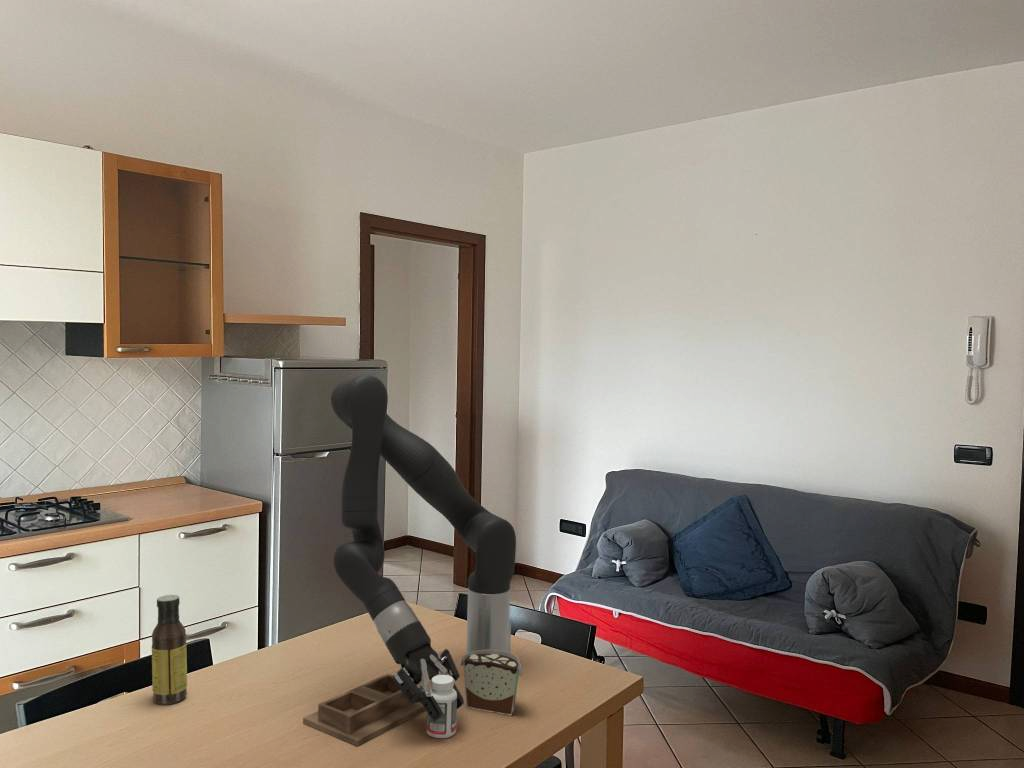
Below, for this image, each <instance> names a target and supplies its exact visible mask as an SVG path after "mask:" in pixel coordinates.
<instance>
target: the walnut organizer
mask: <svg viewBox="0 0 1024 768" xmlns="http://www.w3.org/2000/svg"><path fill="white" fill-rule="evenodd" d="M393 676H394V675H393V674H391V673H390V674H389V673H386V674H384V675H382V676H380V677H377V678H375V679H372V680H370V681H367V682H365V683H364V684H361V685H359V686H357V687H355V688H352V689H349V690H348V691H346V692H343V693H340V694H339V695H336V696H333V697H332V698H330V699H327V700H326V701H323V702H320V703H318V704H317V705H318V709H317V710H318V711H315V712H313V713H311V714H309V715H306V716H304V717H302V724H304V725H306V726H308V727H310V728H313V729H315V730H318V731H320V732H322V733H324V734H326V735H330V736H332V737H334V738H336V739H339V740H341V741H344V742H346V743H348V744H350V745H354V747H355V746H356V747H359V746H361V745H363V744H365V743H367V742H368V741H370V740H372V739H374V738H376V737H378V736H380V735H382V734H384V733H385V732H387V731H389V730H391V729H393V728H395V727H397V726H398V725H401V724H402V723H405V722H407V721H408V720H410V719H412V718H414V717H416V716H418V715H419V714H421V713H424V712H425V711H426V710H425V708H424V706H423V704H422V703H419V702H415V703H414V704H412V703H410V701H409V700H408V699H407V698H406V696H405V695H404V694H403V692H402V691H401V690H400V689H399V687H398V686H397V685H396V684H395V682H394V681H393V679H392V677H393ZM409 690H410V691H411V689H409ZM411 693H412V694H414V693H413V692H412V691H411Z"/></svg>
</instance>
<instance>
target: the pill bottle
mask: <svg viewBox="0 0 1024 768" xmlns="http://www.w3.org/2000/svg"><path fill="white" fill-rule="evenodd" d="M451 676H452V675H451ZM451 676H448V675H439V674H437V676H434V677H433V678H432V680H430V687H431V688H430V692H431V696H433V697H434V699H435V700H436V702H437V704H438V706H439V707H440V709H441V711H442V712H443V715H442V716H441V717H440V718H439V719H438V720H436V721H434V720H433V719H432V718H431V717H430V716H429V715H428V713H427V712H426V734H427V735H428V736H430V737H432V738H435V739H447V738H450V737H452V736H454V735H455V734H456V732H457V719H458V717H457V713H458V712H457V692H456V691H455V690H454V689H453V686H454V680H453V678H452V677H451ZM431 696H430V697H431Z"/></svg>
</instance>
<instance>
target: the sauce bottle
mask: <svg viewBox="0 0 1024 768" xmlns="http://www.w3.org/2000/svg"><path fill="white" fill-rule="evenodd" d="M180 604H181V603H180V596H179V595H177V594H167V595H166V594H165V595H163V596H159V597H157V599H156V607H157V624H156V626H155V627H154V629H153V630H152V633H151V642H152V643H151V667H152V668H151V674H152V675H151V677H152V681H151V682H152V683H151V684H152V687H151V688H152V693H153V696H152V699H153V702H155V703H156V704H157V705H161V706H162V705H171V704H172V705H173V704H177V703H178V702H180V701H183V700H184V699H185V698H186V697H187V695H188V691H187V690H188V689H187V687H188V665H187V664H188V663H187V662H188V661H187V658H188V655H187V651H188V650H187V639H186V638H187V637H186V636H187V635H186V634H187V633H186V628H185V626H184V625H183V624H182V622H181V621H180V612H179V611H180V609H179V608H180Z"/></svg>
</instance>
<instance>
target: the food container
mask: <svg viewBox="0 0 1024 768" xmlns="http://www.w3.org/2000/svg"><path fill="white" fill-rule="evenodd" d="M459 665H460V667H462V666H463V667H462V668H463V679H464V680H463V681H464V691H465V706H466V707H467V708H466V709H470V708H474V709H473V710H476V709H480V710H479V711H481V710H486V711H485V712H487V711H492V712H498V713H499V712H500V713H503V714H511V715H512V714H513V715H514V713H513V712H514V711H515V704H516V696H517V689H518V680H519V677H521V676H522V674H523V670H522V669H523V668H522V664H521V661H520V659H519V657H518V656H517V655H515V654H514V653H512V652H510V653H508V652H505V651H499V650H478V651H473V652H470V653H467V654H466V653H465V654H463V656H462V658H461V662H460V664H459ZM492 712H491V713H492ZM503 714H502V715H503ZM513 715H512V716H513Z"/></svg>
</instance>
